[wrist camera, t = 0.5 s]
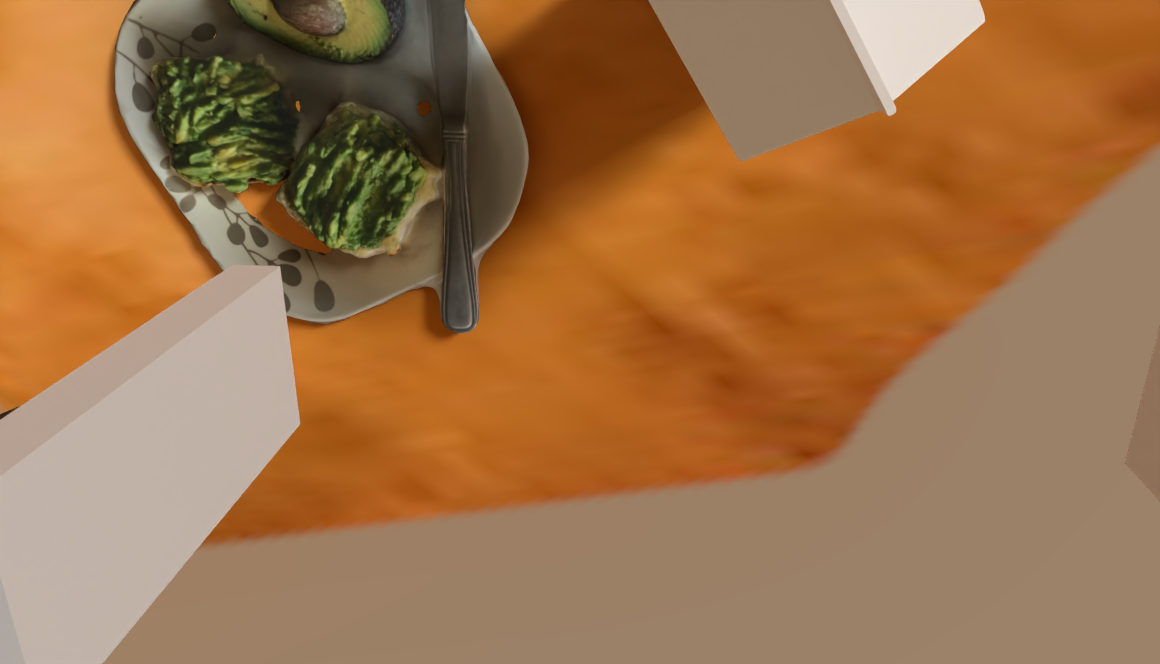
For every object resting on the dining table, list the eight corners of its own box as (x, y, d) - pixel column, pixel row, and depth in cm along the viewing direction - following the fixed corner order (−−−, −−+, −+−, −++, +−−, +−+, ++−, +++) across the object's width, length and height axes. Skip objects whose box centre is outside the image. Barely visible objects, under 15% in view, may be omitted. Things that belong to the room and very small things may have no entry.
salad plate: (627, 252, 42) (621, 283, 38) (310, 391, 46) (272, 434, 42) (423, -171, 36) (390, -191, 32) (85, 32, 41) (15, 38, 36)
